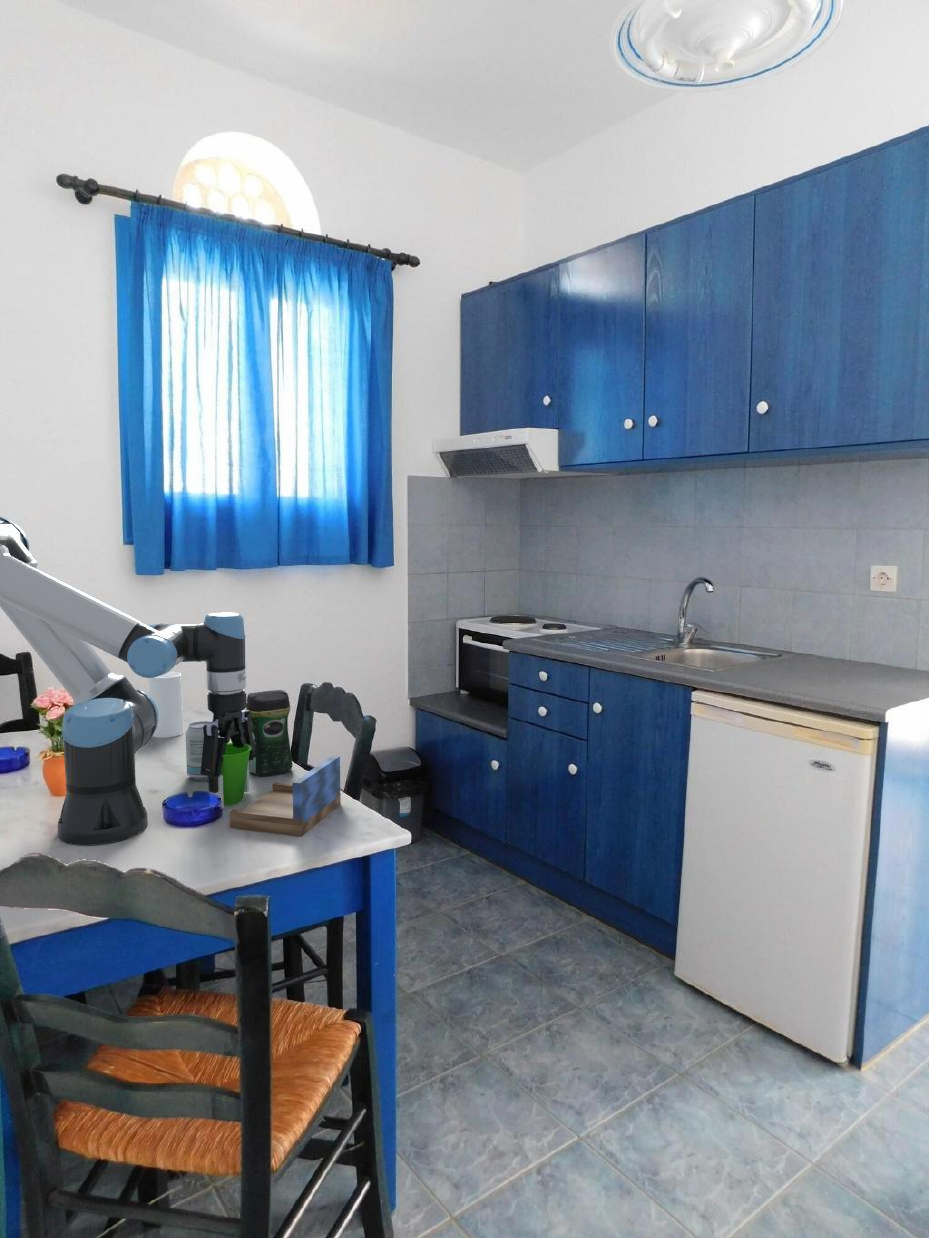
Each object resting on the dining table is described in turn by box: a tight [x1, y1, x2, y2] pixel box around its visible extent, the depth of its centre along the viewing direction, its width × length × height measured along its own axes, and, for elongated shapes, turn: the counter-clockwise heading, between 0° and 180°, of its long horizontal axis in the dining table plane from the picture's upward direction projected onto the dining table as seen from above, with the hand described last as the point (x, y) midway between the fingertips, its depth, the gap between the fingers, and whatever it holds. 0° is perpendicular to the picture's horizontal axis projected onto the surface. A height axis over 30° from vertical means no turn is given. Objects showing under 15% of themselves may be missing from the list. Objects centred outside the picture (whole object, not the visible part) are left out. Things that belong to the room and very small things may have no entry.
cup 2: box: [215, 742, 252, 806], centre depth 163 cm, size 9×9×11 cm
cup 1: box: [147, 671, 184, 739], centre depth 214 cm, size 8×8×16 cm
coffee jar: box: [245, 689, 293, 777], centre depth 183 cm, size 10×8×19 cm
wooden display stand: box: [229, 755, 342, 837], centre depth 156 cm, size 17×14×10 cm
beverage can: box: [185, 720, 220, 782], centre depth 178 cm, size 7×7×12 cm
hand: (230, 798), depth 164 cm, fingers closed on cup 2, 9 cm apart
